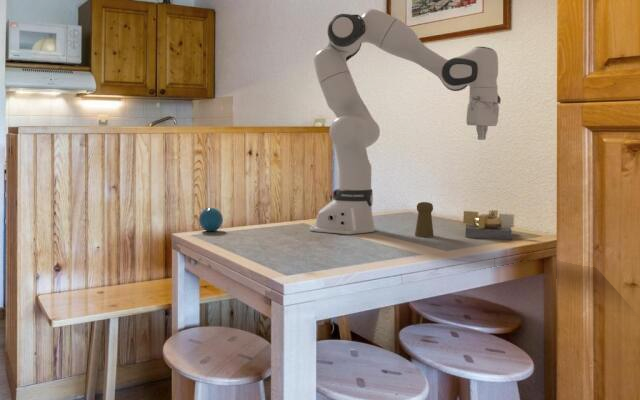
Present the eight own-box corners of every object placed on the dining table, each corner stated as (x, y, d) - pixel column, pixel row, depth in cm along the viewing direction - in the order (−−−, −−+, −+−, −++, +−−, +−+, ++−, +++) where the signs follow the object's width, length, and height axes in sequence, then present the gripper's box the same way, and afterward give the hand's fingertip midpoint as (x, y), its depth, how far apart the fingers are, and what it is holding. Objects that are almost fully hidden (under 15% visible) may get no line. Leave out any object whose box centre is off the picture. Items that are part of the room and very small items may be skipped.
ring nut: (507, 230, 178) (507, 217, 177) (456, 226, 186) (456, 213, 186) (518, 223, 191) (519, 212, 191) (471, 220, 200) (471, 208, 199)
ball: (215, 234, 189) (215, 209, 189) (194, 232, 192) (194, 208, 191) (227, 230, 197) (227, 207, 196) (206, 228, 199) (206, 206, 199)
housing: (465, 237, 185) (465, 228, 184) (466, 231, 197) (466, 222, 197) (511, 239, 181) (511, 230, 181) (509, 233, 194) (509, 223, 193)
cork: (433, 237, 184) (434, 203, 183) (414, 237, 185) (415, 203, 184) (433, 234, 190) (434, 201, 189) (415, 233, 191) (415, 201, 190)
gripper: (481, 95, 179) (480, 140, 181) (502, 98, 196) (500, 139, 197) (462, 96, 183) (460, 139, 184) (484, 99, 200) (482, 139, 201)
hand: (481, 139), depth 191 cm, fingers closed
